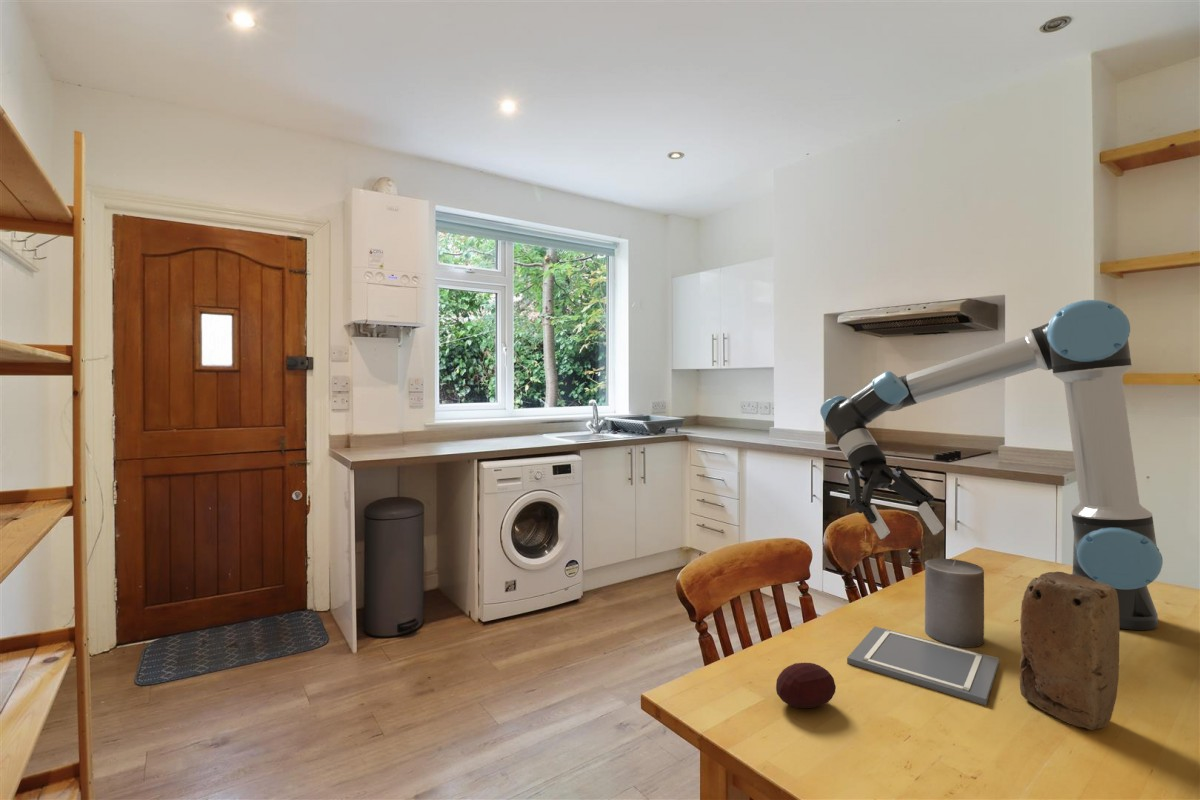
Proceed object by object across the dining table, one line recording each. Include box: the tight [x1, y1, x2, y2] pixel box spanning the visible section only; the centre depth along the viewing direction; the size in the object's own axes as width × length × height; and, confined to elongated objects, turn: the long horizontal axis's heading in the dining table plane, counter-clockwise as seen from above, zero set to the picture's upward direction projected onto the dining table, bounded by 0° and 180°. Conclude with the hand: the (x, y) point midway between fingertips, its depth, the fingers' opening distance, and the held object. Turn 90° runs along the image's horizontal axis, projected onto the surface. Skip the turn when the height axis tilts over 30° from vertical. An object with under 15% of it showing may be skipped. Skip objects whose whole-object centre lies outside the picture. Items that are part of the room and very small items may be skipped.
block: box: [1019, 571, 1121, 731], centre depth 84 cm, size 11×8×20 cm
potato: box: [775, 662, 837, 709], centre depth 86 cm, size 8×9×6 cm
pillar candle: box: [924, 558, 985, 648], centre depth 110 cm, size 10×10×15 cm
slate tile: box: [846, 625, 1000, 706], centre depth 99 cm, size 20×17×1 cm
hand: (912, 533), depth 119 cm, fingers open, 13 cm apart
